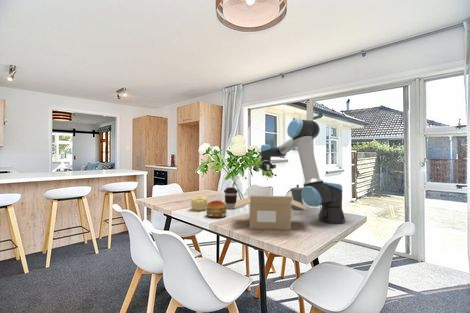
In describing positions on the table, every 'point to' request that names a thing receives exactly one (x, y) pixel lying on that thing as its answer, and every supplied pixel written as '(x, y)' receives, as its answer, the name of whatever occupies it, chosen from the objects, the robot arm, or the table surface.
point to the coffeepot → (296, 196)
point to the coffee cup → (230, 197)
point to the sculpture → (199, 203)
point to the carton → (269, 215)
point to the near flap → (271, 199)
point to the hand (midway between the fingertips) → (268, 167)
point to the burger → (216, 209)
